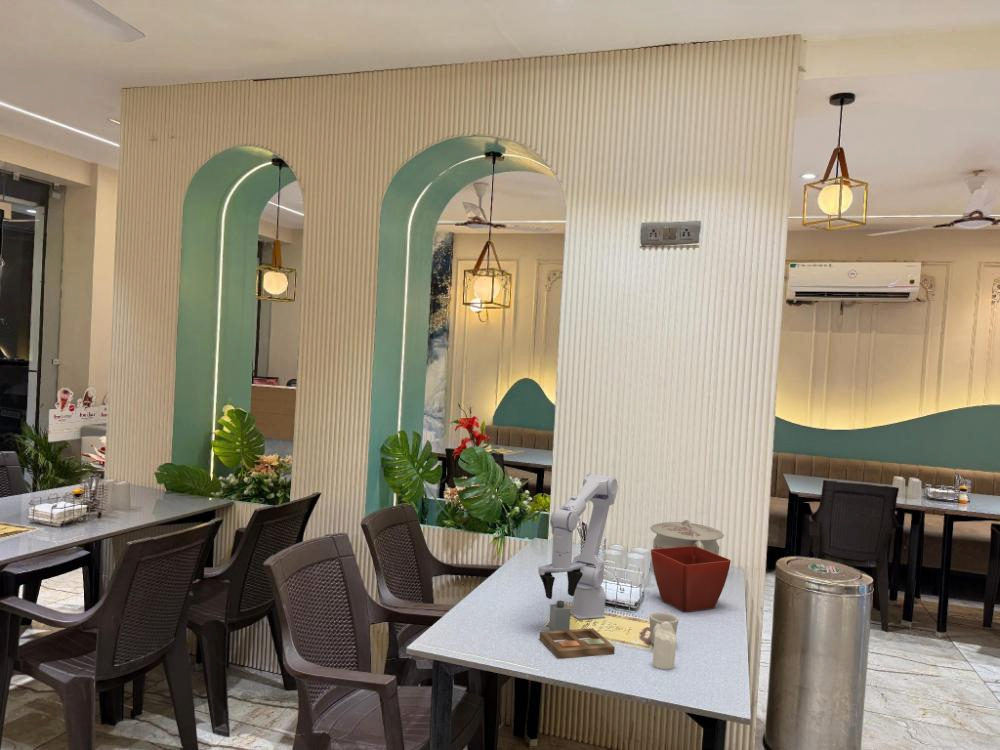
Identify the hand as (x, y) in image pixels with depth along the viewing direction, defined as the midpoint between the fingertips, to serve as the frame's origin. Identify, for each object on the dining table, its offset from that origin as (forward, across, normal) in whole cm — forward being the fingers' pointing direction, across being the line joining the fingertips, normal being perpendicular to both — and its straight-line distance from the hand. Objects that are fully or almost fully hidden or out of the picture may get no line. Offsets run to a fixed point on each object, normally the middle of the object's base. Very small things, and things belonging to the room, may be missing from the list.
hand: (559, 596), depth 219 cm
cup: (+10, -21, +21) cm, 31 cm away
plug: (+10, 0, 0) cm, 10 cm away
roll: (+10, -13, +32) cm, 36 cm away
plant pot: (+10, -54, -5) cm, 55 cm away
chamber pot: (+10, -77, -34) cm, 85 cm away
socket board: (+10, +2, +13) cm, 16 cm away
